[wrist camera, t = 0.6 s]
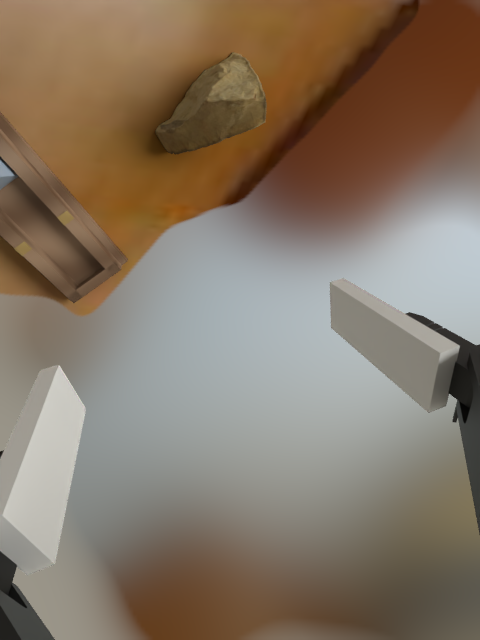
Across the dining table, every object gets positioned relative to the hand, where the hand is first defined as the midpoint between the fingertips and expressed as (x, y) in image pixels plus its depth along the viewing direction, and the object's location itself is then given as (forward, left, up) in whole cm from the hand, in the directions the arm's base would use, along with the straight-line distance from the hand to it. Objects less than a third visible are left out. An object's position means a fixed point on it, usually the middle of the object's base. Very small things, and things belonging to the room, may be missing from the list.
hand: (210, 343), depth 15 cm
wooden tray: (-11, -9, -25) cm, 29 cm away
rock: (-9, +11, -26) cm, 29 cm away
